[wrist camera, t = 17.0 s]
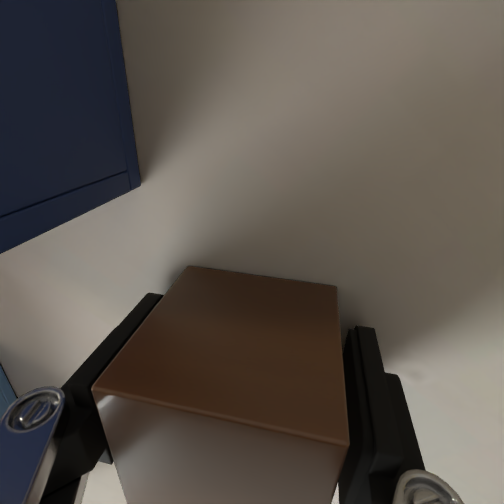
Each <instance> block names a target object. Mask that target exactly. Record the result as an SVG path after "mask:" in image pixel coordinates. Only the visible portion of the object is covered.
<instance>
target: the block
mask: <svg viewBox="0 0 504 504" xmlns="http://www.w3.org/2000/svg"><path fill="white" fill-rule="evenodd" d="M91 391H92V394H93V397H94V400H95V404H96V407H97V410H98V413H99V416H100V419H101V423H102V426H103V429H104V432H105V435H106V438H107V441H108V445H109V448H110V451H111V454H112V457H113V460H114V464H115V467H116V470H117V473H118V476H119V479H120V482H121V486H122V489H123V492H124V495H125V498H126V501H127V504H331V502H332V499H333V496H334V493H335V490H336V487H337V483H338V480H339V477H340V474H341V471H342V467H343V464H344V461H345V458H346V455H347V452H348V448H349V445H350V440H349V428H348V416H347V403H346V391H345V379H344V367H343V355H342V343H341V331H340V319H339V307H338V294H337V287H335V286H330V285H323V284H315V283H308V282H301V281H294V280H287V279H279V278H272V277H265V276H258V275H250V274H243V273H236V272H229V271H222V270H214V269H207V268H200V267H193V266H188V267H187V268H186V269H185V270H184V271H183V273H182V274H181V275H180V276H179V278H178V279H177V280H176V281H175V283H174V284H173V285H172V286H171V288H170V289H169V290H168V291H167V293H166V294H165V295H164V296H163V298H162V299H161V300H160V301H159V303H158V304H157V305H156V306H155V308H154V309H153V310H152V311H151V313H150V314H149V315H148V316H147V318H146V319H145V320H144V321H143V323H142V324H141V325H140V326H139V328H138V329H137V330H136V332H135V333H134V334H133V335H132V337H131V338H130V339H129V340H128V342H127V343H126V344H125V345H124V347H123V348H122V349H121V350H120V352H119V353H118V354H117V355H116V357H115V358H114V359H113V360H112V362H111V363H110V364H109V365H108V367H107V368H106V369H105V370H104V372H103V373H102V374H101V375H100V377H99V378H98V379H97V380H96V382H95V383H94V384H93V386H92V388H91Z"/></svg>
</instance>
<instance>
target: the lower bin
mask: <svg viewBox="0 0 504 504" xmlns="http://www.w3.org/2000/svg"><path fill="white" fill-rule="evenodd" d="M139 186H141V182H140V174H139V167H138V160H137V153H136V145H135V138H134V131H133V124H132V116H131V109H130V102H129V95H128V88H127V80H126V73H125V66H124V59H123V51H122V44H121V37H120V30H119V22H118V15H117V8H116V1H115V0H0V254H1V253H3V252H6V251H8V250H10V249H12V248H14V247H16V246H18V245H20V244H22V243H24V242H26V241H28V240H30V239H32V238H34V237H37V236H39V235H41V234H43V233H45V232H47V231H49V230H51V229H53V228H55V227H57V226H59V225H61V224H63V223H65V222H67V221H70V220H72V219H74V218H76V217H78V216H80V215H82V214H84V213H86V212H88V211H90V210H92V209H94V208H96V207H98V206H101V205H103V204H105V203H107V202H109V201H111V200H113V199H115V198H117V197H119V196H121V195H123V194H125V193H127V192H129V191H131V190H133V189H135V188H137V187H139Z"/></svg>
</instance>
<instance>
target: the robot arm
mask: <svg viewBox="0 0 504 504" xmlns="http://www.w3.org/2000/svg"><path fill="white" fill-rule="evenodd" d="M163 296H164V295H161V294H154V293H148V294H146V295H145V297H144V298H143V299H142V300H141V301H140V302H139V303H138V304H137V305H136V307H135V308H134V309H133V310H132V311H131V312H130V313H129V314H128V316H127V317H126V318H125V319H124V320H123V321H122V322H121V323H120V325H119V326H117V327H116V328H115V329H114V330H113V331H112V332H111V333H110V334H109V335H108V336H107V337H106V338H105V340H104V341H103V342H102V343H101V344H100V345H99V346H98V347H97V348H96V350H95V351H94V352H93V353H92V354H91V355H90V356H89V357H88V358H87V360H86V361H85V362H84V363H83V364H82V365H81V366H80V367H79V369H78V370H77V371H76V372H75V373H74V374H73V375H72V376H71V377H70V379H69V380H68V381H67V382H66V383H65V384H64V385H63V386H62V387H61V389H60V388H57V387H41V388H37V389H34V390H32V391H30V392H27V393H26V394H24V395H22V396H21V397H19V398H18V399H17V400H15V401H14V402H13V403H12V404H11V405H10V406H9V407H8V409H7V410H6V411H5V413H4V414H3V416H2V418H1V419H0V504H81V503H82V499H83V495H84V491H85V487H86V484H87V480H88V476H89V472H90V471H92V470H93V468H94V467H95V465H96V464H97V462H98V461H100V462H104V463H108V464H111V465H112V463H113V461H114V460H113V457H112V454H111V451H110V448H109V445H108V441H107V438H106V435H105V432H104V429H103V426H102V423H101V419H100V416H99V413H98V410H97V407H96V404H95V400H94V397H93V394H92V391H91V388H92V386H93V384H94V383H95V382H96V380H97V379H98V378H99V377H100V375H101V374H102V373H103V372H104V370H105V369H106V368H107V367H108V365H109V364H110V363H111V362H112V360H113V359H114V358H115V357H116V355H117V354H118V353H119V352H120V350H121V349H122V348H123V347H124V345H125V344H126V343H127V342H128V340H129V339H130V338H131V337H132V335H133V334H134V333H135V332H136V330H137V329H138V328H139V326H140V325H141V324H142V323H143V321H144V320H145V319H146V318H147V316H148V315H149V314H150V313H151V311H152V310H153V309H154V308H155V306H156V305H157V304H158V303H159V301H160V300H161V299H162V298H163ZM342 355H343V367H344V379H345V391H346V403H347V416H348V428H349V440H350V445H349V448H348V452H347V455H346V458H345V461H344V464H343V467H342V471H341V474H340V477H339V480H338V487H339V504H464V503H463V501H462V500H461V498H460V497H459V495H458V494H457V493H456V492H455V491H454V490H453V489H452V488H451V487H450V486H449V484H448V483H446V482H445V481H443V480H442V479H441V478H439V477H438V476H436V475H434V474H432V473H430V472H427V471H426V470H425V467H424V463H423V460H422V456H421V452H420V449H419V445H418V442H417V438H416V435H415V431H414V427H413V424H412V420H411V417H410V413H409V410H408V406H407V402H406V399H405V395H404V392H403V388H402V385H401V381H400V379H399V377H398V375H396V374H390V373H385V371H384V367H383V363H382V359H381V354H380V350H379V346H378V341H377V337H376V333H375V329H374V328H370V327H363V326H357V325H356V326H355V328H354V329H349V330H348V333H347V337H346V341H345V345H344V350H343V354H342Z"/></svg>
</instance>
